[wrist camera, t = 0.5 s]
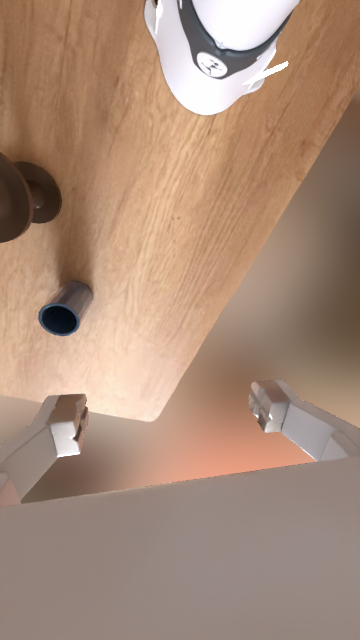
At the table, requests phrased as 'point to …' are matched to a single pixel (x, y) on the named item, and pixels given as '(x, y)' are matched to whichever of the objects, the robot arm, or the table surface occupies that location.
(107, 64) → the table surface
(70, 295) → the cup
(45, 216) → the candlestick
